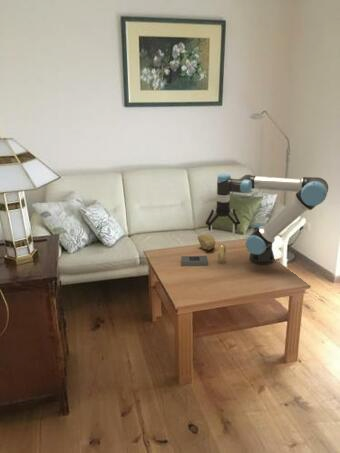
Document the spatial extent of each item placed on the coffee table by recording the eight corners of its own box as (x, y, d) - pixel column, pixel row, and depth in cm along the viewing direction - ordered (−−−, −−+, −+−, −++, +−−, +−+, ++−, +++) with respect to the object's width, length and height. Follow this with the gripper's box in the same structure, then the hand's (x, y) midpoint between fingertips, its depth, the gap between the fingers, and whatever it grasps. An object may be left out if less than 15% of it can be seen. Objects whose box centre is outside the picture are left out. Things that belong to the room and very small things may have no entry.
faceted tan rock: (200, 245, 252) (191, 242, 243) (208, 232, 250) (199, 228, 241) (215, 256, 243) (206, 254, 234) (224, 243, 241) (215, 239, 232)
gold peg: (224, 260, 226) (225, 244, 222) (225, 263, 221) (226, 246, 218) (217, 260, 226) (218, 244, 222) (218, 263, 222) (219, 246, 218)
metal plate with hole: (206, 259, 228) (206, 255, 227) (208, 265, 219) (208, 261, 219) (181, 259, 228) (181, 256, 227) (181, 265, 220) (181, 262, 219)
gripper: (243, 199, 215) (241, 232, 221) (201, 199, 215) (201, 233, 222) (245, 202, 208) (244, 236, 214) (202, 203, 208) (202, 237, 215)
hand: (222, 235), depth 218 cm, fingers open, 13 cm apart
